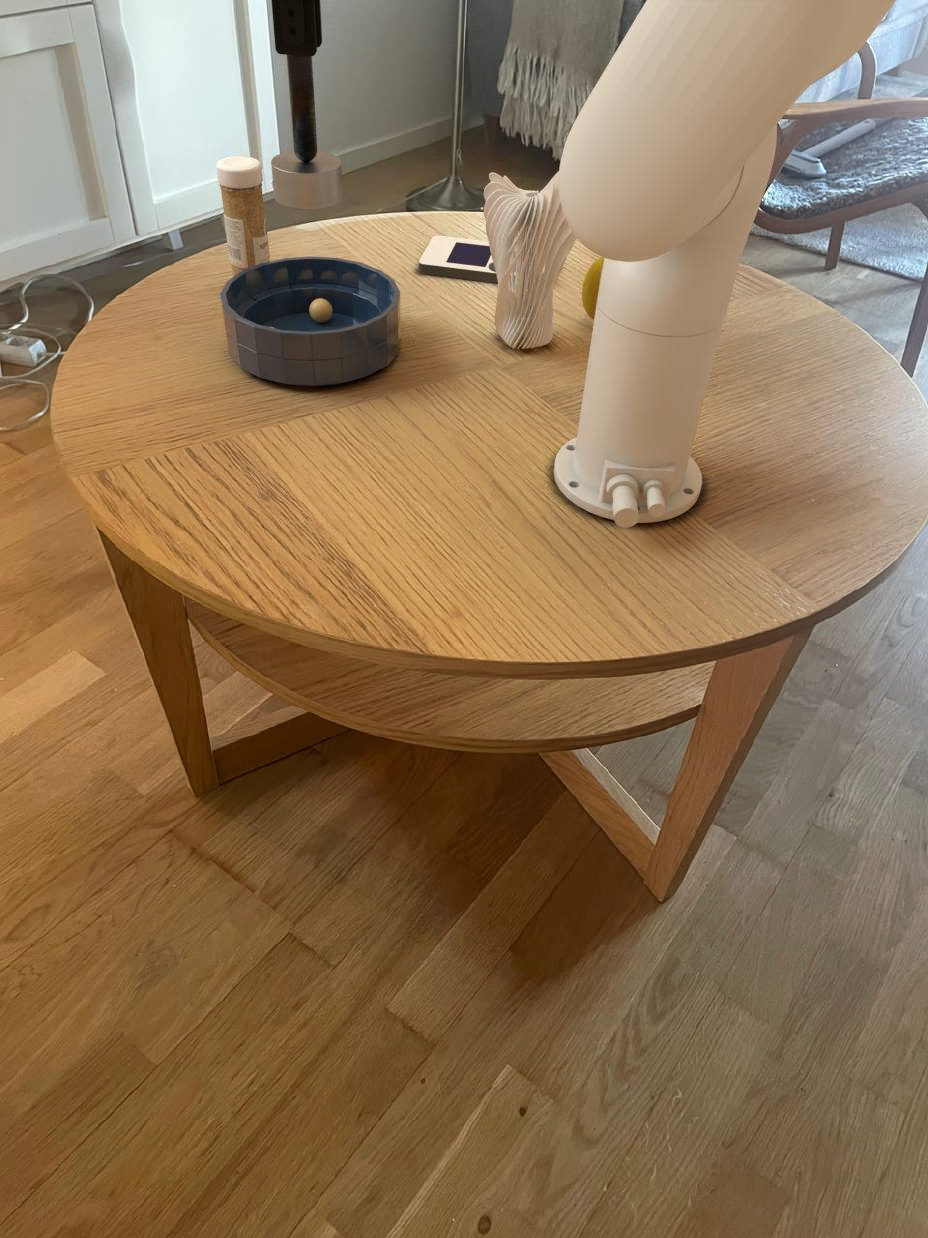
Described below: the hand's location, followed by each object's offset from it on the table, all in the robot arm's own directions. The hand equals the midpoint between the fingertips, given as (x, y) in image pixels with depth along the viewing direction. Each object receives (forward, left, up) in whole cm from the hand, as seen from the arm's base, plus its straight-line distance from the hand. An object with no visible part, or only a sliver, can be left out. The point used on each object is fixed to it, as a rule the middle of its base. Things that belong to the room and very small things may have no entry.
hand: (299, 47), depth 74 cm
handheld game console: (+25, -16, -27) cm, 40 cm away
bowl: (+2, +1, -27) cm, 27 cm away
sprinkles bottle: (+15, +10, -27) cm, 33 cm away
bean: (+7, +1, -25) cm, 26 cm away
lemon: (+11, -29, -27) cm, 41 cm away
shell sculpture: (+6, -20, -27) cm, 34 cm away
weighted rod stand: (0, 0, -12) cm, 12 cm away
